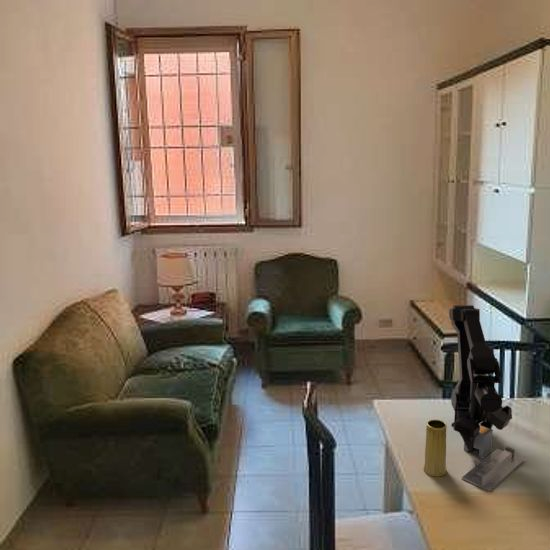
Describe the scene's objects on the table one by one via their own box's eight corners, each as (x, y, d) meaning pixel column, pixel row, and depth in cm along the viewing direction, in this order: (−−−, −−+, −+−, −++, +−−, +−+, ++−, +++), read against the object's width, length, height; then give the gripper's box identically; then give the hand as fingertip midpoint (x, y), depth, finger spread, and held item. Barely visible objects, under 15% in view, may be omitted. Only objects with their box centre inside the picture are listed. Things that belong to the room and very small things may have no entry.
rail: (461, 479, 152) (462, 470, 152) (497, 450, 166) (497, 442, 165) (489, 491, 147) (490, 483, 146) (524, 461, 160) (524, 452, 159)
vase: (446, 466, 159) (448, 420, 155) (445, 478, 153) (447, 430, 150) (424, 462, 161) (425, 417, 157) (422, 474, 155) (424, 427, 152)
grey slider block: (463, 450, 166) (464, 428, 165) (472, 443, 170) (473, 421, 168) (482, 458, 162) (484, 435, 160) (491, 451, 165) (492, 428, 164)
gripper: (491, 416, 150) (488, 468, 153) (523, 393, 162) (519, 442, 166) (453, 403, 158) (451, 453, 161) (486, 382, 170) (483, 429, 174)
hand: (477, 444), depth 165 cm, fingers open, 9 cm apart
